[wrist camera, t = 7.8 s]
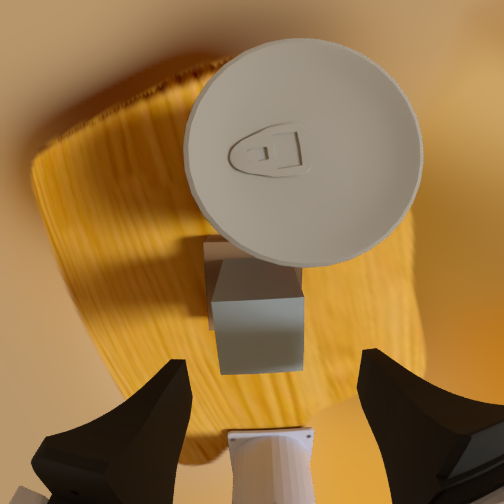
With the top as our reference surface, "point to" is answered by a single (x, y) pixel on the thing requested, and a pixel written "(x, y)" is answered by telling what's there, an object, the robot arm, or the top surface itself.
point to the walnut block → (213, 259)
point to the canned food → (303, 152)
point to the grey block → (258, 317)
